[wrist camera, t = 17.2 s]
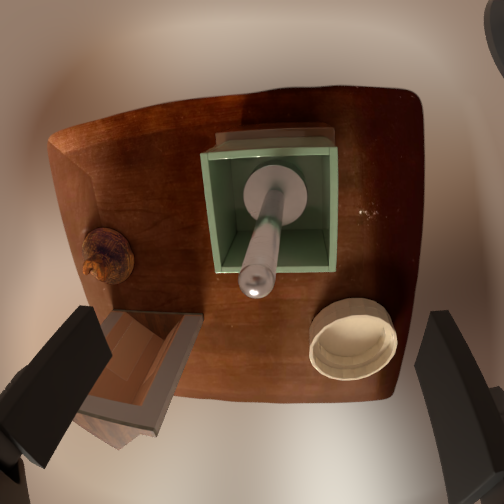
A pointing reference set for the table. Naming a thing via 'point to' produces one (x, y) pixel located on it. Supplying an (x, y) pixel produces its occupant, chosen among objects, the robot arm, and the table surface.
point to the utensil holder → (238, 171)
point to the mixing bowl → (351, 339)
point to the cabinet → (138, 373)
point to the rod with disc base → (269, 221)
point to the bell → (107, 256)
